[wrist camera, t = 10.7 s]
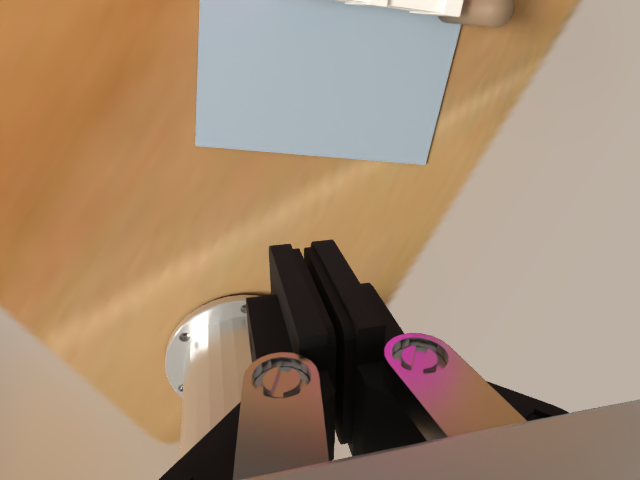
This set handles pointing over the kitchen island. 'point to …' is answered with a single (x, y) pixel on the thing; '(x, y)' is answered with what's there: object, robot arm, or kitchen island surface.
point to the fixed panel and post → (483, 13)
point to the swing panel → (415, 6)
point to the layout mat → (321, 78)
